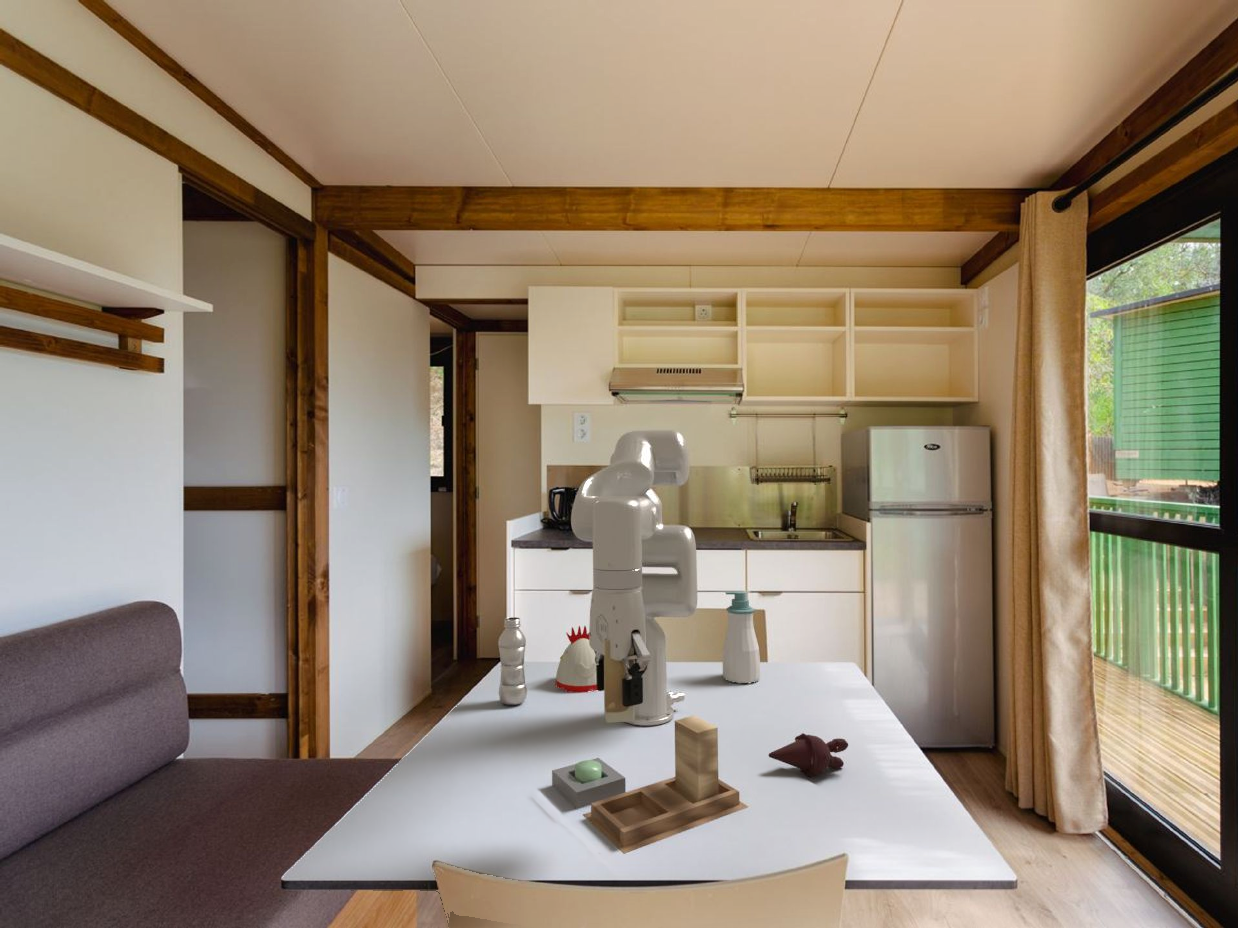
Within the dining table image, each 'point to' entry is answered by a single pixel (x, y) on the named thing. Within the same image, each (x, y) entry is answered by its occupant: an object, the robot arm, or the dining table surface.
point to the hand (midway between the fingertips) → (619, 695)
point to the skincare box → (615, 689)
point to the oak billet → (696, 759)
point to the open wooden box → (657, 813)
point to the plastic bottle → (512, 663)
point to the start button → (587, 771)
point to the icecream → (811, 754)
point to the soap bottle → (740, 642)
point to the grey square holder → (588, 785)
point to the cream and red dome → (577, 664)
